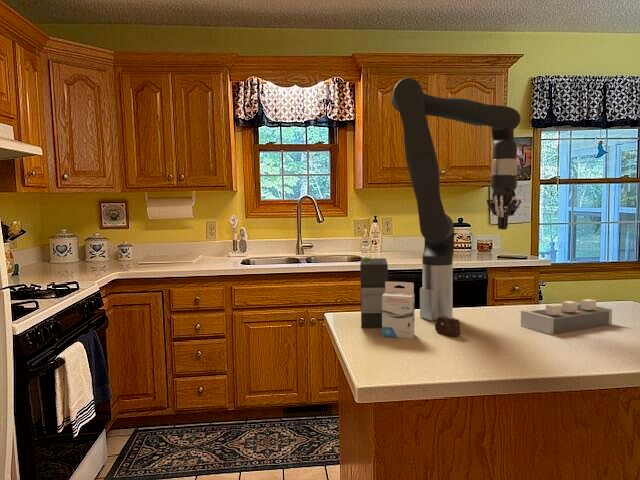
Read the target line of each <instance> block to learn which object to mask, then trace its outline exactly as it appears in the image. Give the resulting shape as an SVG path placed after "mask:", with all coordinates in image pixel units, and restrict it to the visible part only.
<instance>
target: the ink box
mask: <svg viewBox="0 0 640 480" xmlns="http://www.w3.org/2000/svg"><path fill="white" fill-rule="evenodd" d="M398 286H401V287H404V288H401V287H398ZM414 288H415V284H414V282H413V281H412V282H407V281H388V282H385V293H384V294H383V295H382V328H381V333H382V334H381V335H382V336H381V337H385V338H395V339H396V338H398V339H409V340H410V339H411V340H412V339H413V338H414V335H415V292H414V290H415V289H414Z"/></svg>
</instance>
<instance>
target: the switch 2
mask: <svg viewBox="0 0 640 480" xmlns="http://www.w3.org/2000/svg"><path fill="white" fill-rule="evenodd" d="M577 305H578V301H574V300H573V301H572V300H567V301H561V307H562V311H566V312H574V311H577Z"/></svg>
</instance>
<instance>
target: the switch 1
mask: <svg viewBox="0 0 640 480" xmlns="http://www.w3.org/2000/svg"><path fill="white" fill-rule="evenodd" d="M561 307H562V304H557V303H549V304H548V303H547V304H545V309H546V314H550V315H558V314H561Z"/></svg>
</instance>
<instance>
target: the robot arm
mask: <svg viewBox="0 0 640 480" xmlns="http://www.w3.org/2000/svg"><path fill="white" fill-rule="evenodd" d="M391 105H392V106H393V108H394V110H396V112H398V113H399V115H400V118H401V119H400V120H401V123H402V126H403V127H402V130H403V145H404V157H405V161H406V166H407V171H408V173H409V178H410V181H411V186H412V189H413V191H414V197H415V199H416V205H417V211H418V212H417V213H418V220H419V221H418V223H419V229H420V233H421V236H422V237H423V238H424V246H423V247H424V248H423V253H422V258H421V259H422V260H421V261H422V263H421V265H422V287H420V288H419V317H420V318H421V319H425V320H428V321H436V322H437V318H438V317H441V316H446V317H448V318H451V319H454V318H453V314H454V313H453V310H454V309H453V258H454V253H455V252H454V250H455V226H454V222H453V219H452V218H451V217H450V215H448V214H447V213H445V209H444V206H443V205H444V204H443V202H442V200H441V199H442V198H441V194H440V193H441V192H440V188H441V187H440V181H441V180H440V168H439V162H438V157H437V153H436V149H435V145H434V142H433V141H434V140H433V138H432V134H431V130H430V128H429V125H428V119H427V116H428V117H429V116H431V117H437V118H442V119H447V120H452V121H455V122H460V123H463V124H468V125H471V126H472V125H473V126H474V127H475V126H476V127H482V126H487V127H491V128H490V129H491V138H492V145H493V146H492V164H491V183H490V186H491V187H490V189H491V190H493V192H492V194H491V195H492V197H491V198H489V199H487V200H486V203H487V206H488V207H489V209H490V211H491V213H492V215H493V216H496V217H497V229H498V230H507V229H508V221H509V217H510V216H511V217H512V216H514V214H515V213H516V211H517V210H518V208H519V207H520V205H521V203H522V200H521V199H518V198H517V197H516V192H515V190H516V189H517V186H518V184H517V183H518V181H517V180H518V161H517V159H518V158H517V157H518V155H517V154H518V146H517V142H516V141H515V140H514V139H515V136H514V134H515V133H514V130H515V129H517V127H519V125H520V124H521V120H522V119H521V114H520V113H519V111H518V110H517V109H515V108H514V107H510V106H506V105H499V104H498V105H497V104H486V103H483V102H480V101H475V100H472V99H466V98H460V97H442V96H441V97H440V96H436V95H435V96H434V95H430V94H428V93H425V92H424V90H423V87H422V85H421V84H420V82H419V81H418V80H416V79H415V78H412V77H405V78H402V79H400V80H399V81H398V82H397V83H396V85H395V86H394V88H393V91H392V94H391Z"/></svg>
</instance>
